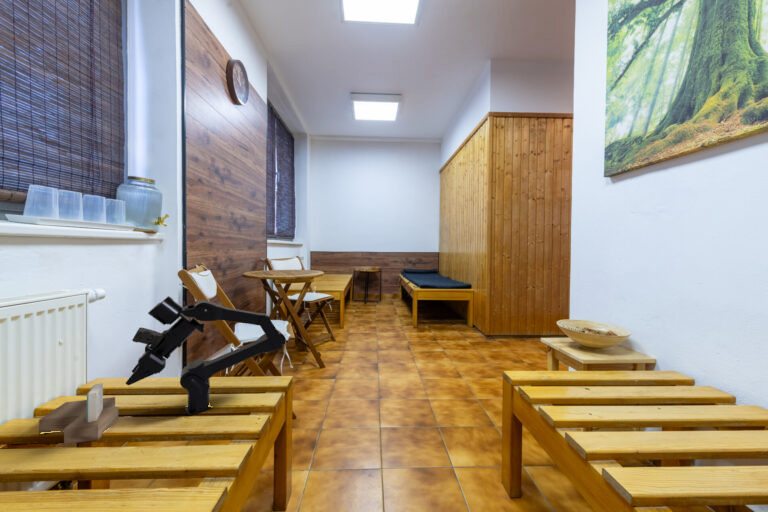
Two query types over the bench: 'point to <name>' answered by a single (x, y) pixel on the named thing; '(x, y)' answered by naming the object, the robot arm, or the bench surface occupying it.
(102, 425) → the platform
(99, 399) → the tile
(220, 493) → the bench surface
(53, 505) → the bench surface
